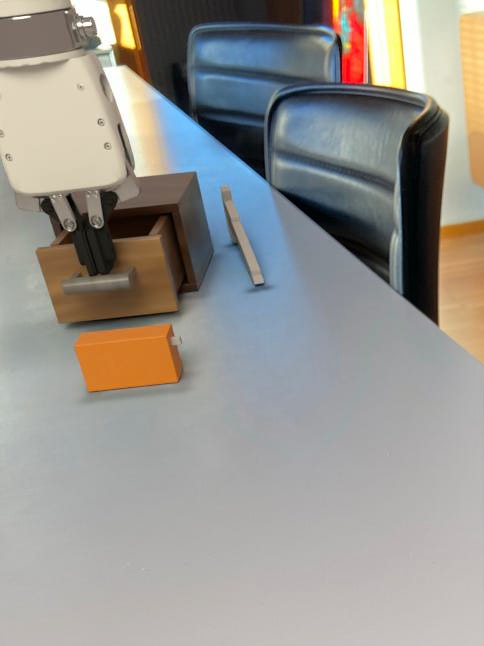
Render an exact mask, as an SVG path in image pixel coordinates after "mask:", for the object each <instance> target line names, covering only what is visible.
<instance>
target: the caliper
mask: <svg viewBox="0 0 484 646" xmlns="http://www.w3.org/2000/svg"><path fill="white" fill-rule="evenodd" d="M219 188H220V193H221V194H220V196H221V201H222V206H223V212H224V215H225V221H226V226H227V231H228V235H229V238H230V239H231V244H232V245H234V244H237V245H238V248H239V251H240V254H241V256H242V258H243V262H244V263H245V266H246V268H247V270H248V274H249V276H250V279H251V282H252V283H253V285H261V284H265V280H264V277H263V275H262V270H261V267H260V265H259V262H258V260H257V258H256V255H255V252H254V251H253V248H252V245H251V243H250V240H249V238H248V235H247V233H246V231H245V228H244V226H243V224H242V221H241V217H240V214H239V212H238V209H237V207H236V204H235V202H234V200H233V196H232V190H231V189H230V185H229V184H226V185H219Z"/></svg>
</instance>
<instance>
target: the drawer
mask: <svg viewBox="0 0 484 646" xmlns="http://www.w3.org/2000/svg"><path fill="white" fill-rule="evenodd" d="M86 222H88V221H86ZM107 224H108V227H109V231H110V234H111V238H112V241H113V244H114V248H115V251H116V256H117V260H116V261H115V262H113V264H114V267H113V268H112V270H111V271H110V273H109V274H108V275H101V274H98V275H97V276H91V277H90V276H89V274H88V271H87V268H86V265H84V266H82V265H81V264H80V262H79V259H78V256H77V253H76V249H75V246H74V243H73V240H72V237H71V233H70V231H67V230H65V229H64V230H63V231H62V232H61V233H60V234H59V235H58V236H57V238H56V237H55V238H54V239H53V241H52V242H51V243H50V244H49V246H38V247H37V248H36V249H35V250H34V252H35V256H36V258H37V261H38V264H39V267H40V271H41V274H42V277H43V280H44V283H45V286H46V289H47V292H48V295H49V298H50V301H51V304H52V307H53V310H54V313H55V316H56V319H57V323H58V324H68V323H78V322H79V323H80V322H87V321H89V322H90V321H95V320H96V321H98V320H106V319H116V318H124V317H125V318H126V317H134V316H144V315H154V314H163V313H171V312H172V313H173V312H178V311H179V309H180V303H179V298H178V293H177V292H178V290H179V287H180V285H181V283H182V281H183V279H184V276H185V274H186V270H185V266H184V262H183V257H182V253H181V249H180V245H179V241H178V237H177V233H176V229H175V225H174V220H173V216H172V212H170V213H160V214H150V215H141V216H131V217H122V218H112V219H108V220H107Z"/></svg>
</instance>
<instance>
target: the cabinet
mask: <svg viewBox="0 0 484 646" xmlns="http://www.w3.org/2000/svg"><path fill="white" fill-rule="evenodd" d="M136 177H137V179H138V181H139V183H140V185H141V187H142V191H141V193H140V194H139V195H138V196H137V197H135V198H132V199H130V200H127V201H125V202H122V203H119V204H117V205H116V207H115V208H114V210H113V212H112V213H111V215H110V217H109V219H112V218H122V217H131V216H141V215H150V214H160V213H170V212H172V216H173V220H174V225H175V229H176V233H177V237H178V241H179V245H180V249H181V253H182V257H183V262H184V266H185V270H186V274H185V276H184V279H183V281H182V283H181V285H180V287H179V290H178V292H177V294H178V293H189V292H196V291H199V290H200V287H201V284H202V282H203V279H204V276H205V275H206V272H207V270H208V268H209V267H208V266H209V264H210V261H211V259H212V257H213V254H214V252H215V251H214V245H213V240H212V236H211V232H210V231H211V230H210V227H209V223H208V218H207V214H206V209H205V203H204V200H203V195H202V191H201V188H200V183H199V178H198V173H197V171H196V170H193V171H186V172H185V171H184V172H175V173H173V172H172V173H167V174H166V173H164V174H155V175H146V176H136ZM115 187H116V186H115ZM112 188H114V187H112ZM108 189H110V188H106V191H107V190H108ZM73 195H74V197H75V199H76V201H77V204H78V206H79V208H80V210H81V212H82V215H83V217H85V219H86V221H88V220H89V215H88V209H87V203H86V196H85V191H82V192H74V193H73ZM48 218H49V221H50V224H51V227H52V230H53V234H54V236H55V239H56V238H57V236H58V235H59V234H60V233H61V232H62V231H63V230H64V227H63V226H62V224H60V223H59V222H57V221H56V220H55V219H53V218H52V217H50V216H49V215H48Z"/></svg>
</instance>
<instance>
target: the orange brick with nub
mask: <svg viewBox="0 0 484 646" xmlns="http://www.w3.org/2000/svg"><path fill="white" fill-rule="evenodd" d="M182 344H183V339H182V336H181V335H175V332H174V328H173V324H172V323H164V324H155V325H144V326H137V327H129V328H128V327H127V328H117V329H108V330H99V331H89V332H82V333H80V335H79V337H78V338H77V339H76V341H75V343H74V344H73V348H74V351H75V355H76V357H77V360H78V361H77V362H78V363H79V367H80V370H81V373H82V376H83V379H84V382H85V385H86V389H87V391H88V393H93V392H100V391H111V390H119V389H128V388H137V387H147V386H156V385H164V384H165V385H166V384H174V383H175V384H176V383H179V381H180V378H181V377H182V373H183V371H184V366H183V362H182V358H181V356H180V350H179V347H178V346H182Z"/></svg>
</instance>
